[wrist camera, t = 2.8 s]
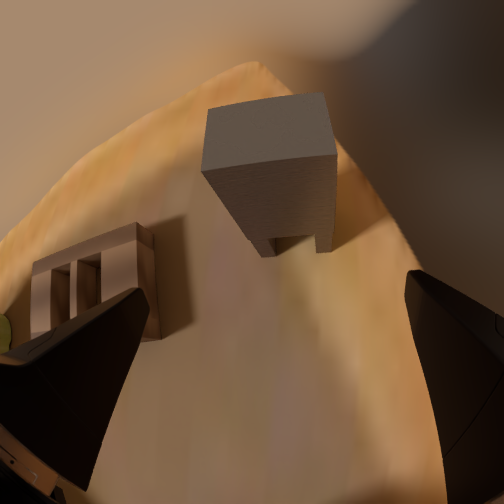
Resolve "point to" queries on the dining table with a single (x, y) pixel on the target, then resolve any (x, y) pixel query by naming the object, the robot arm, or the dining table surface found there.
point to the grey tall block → (274, 168)
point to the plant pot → (4, 334)
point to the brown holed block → (94, 278)
